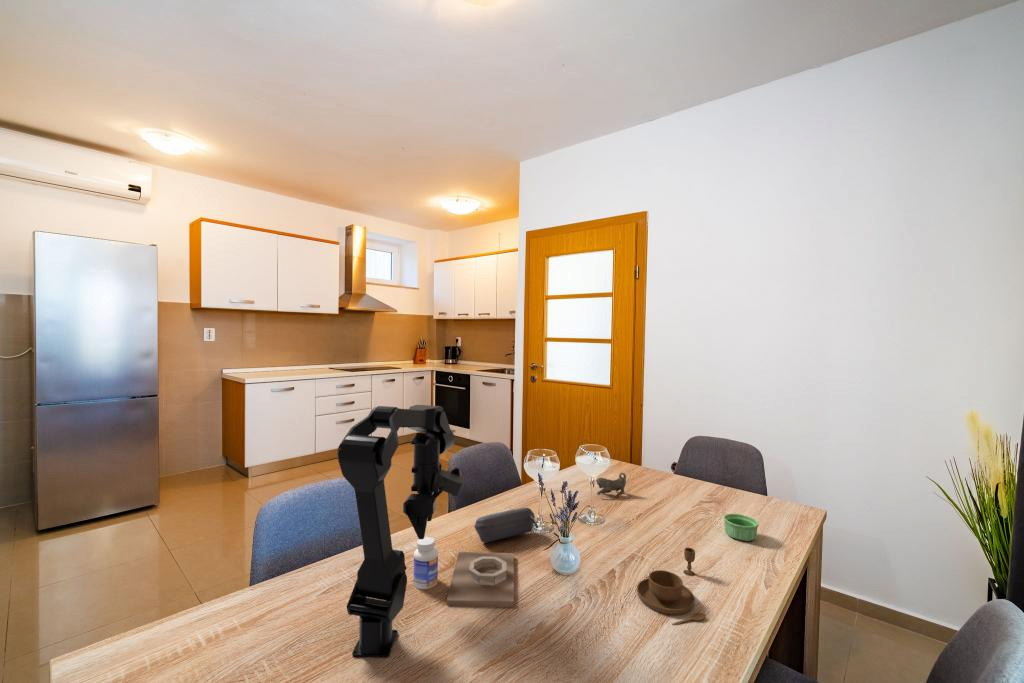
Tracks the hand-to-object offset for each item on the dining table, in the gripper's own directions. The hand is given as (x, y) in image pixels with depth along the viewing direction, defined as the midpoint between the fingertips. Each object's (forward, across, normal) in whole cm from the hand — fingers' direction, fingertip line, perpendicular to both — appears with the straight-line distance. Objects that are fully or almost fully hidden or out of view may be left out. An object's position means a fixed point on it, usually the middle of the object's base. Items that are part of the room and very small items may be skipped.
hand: (425, 529), depth 99 cm
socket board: (+12, +2, -13) cm, 18 cm away
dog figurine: (+12, +57, -56) cm, 80 cm away
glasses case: (+12, +22, -19) cm, 31 cm away
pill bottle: (+12, 0, 0) cm, 13 cm away
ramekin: (+12, +26, -86) cm, 91 cm away
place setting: (+13, -3, -57) cm, 59 cm away
